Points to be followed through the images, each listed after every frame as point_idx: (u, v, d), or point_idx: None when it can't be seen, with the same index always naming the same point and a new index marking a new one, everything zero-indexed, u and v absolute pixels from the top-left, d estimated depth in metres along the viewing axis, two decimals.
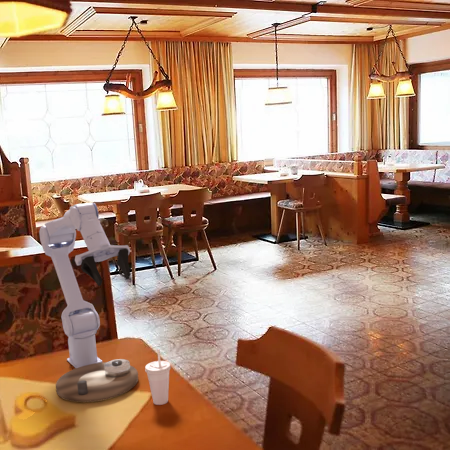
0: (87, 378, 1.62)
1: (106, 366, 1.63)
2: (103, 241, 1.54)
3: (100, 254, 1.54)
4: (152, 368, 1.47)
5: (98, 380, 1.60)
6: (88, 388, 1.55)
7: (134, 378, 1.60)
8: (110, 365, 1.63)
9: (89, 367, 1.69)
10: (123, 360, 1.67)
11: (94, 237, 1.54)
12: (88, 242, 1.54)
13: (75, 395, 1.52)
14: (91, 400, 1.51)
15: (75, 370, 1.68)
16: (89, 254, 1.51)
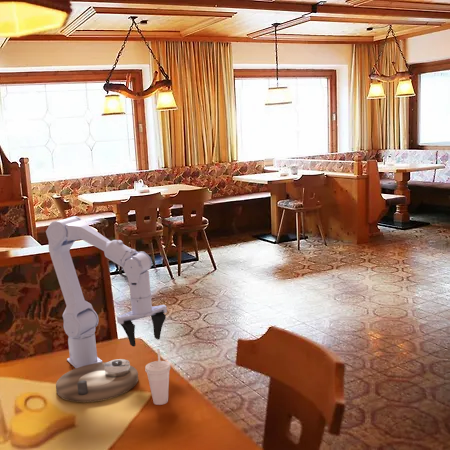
0: (87, 378, 1.62)
1: (106, 366, 1.63)
2: (147, 308, 1.64)
3: None
4: (152, 368, 1.47)
5: (98, 380, 1.60)
6: (88, 388, 1.55)
7: (134, 378, 1.60)
8: (110, 365, 1.63)
9: (89, 367, 1.69)
10: (123, 360, 1.67)
11: (140, 302, 1.63)
12: (133, 302, 1.64)
13: (75, 395, 1.52)
14: (91, 400, 1.51)
15: (75, 370, 1.68)
16: None
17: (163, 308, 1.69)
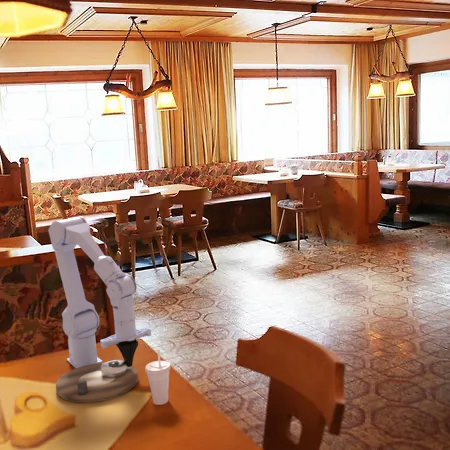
0: (87, 378, 1.62)
1: (103, 367, 1.62)
2: (131, 331, 1.62)
3: None
4: (152, 368, 1.47)
5: (98, 380, 1.60)
6: (88, 388, 1.55)
7: (134, 378, 1.60)
8: (107, 366, 1.63)
9: (89, 367, 1.69)
10: (120, 361, 1.66)
11: (124, 326, 1.61)
12: (117, 326, 1.62)
13: (75, 395, 1.52)
14: (91, 400, 1.51)
15: (75, 370, 1.68)
16: None
17: (147, 331, 1.67)
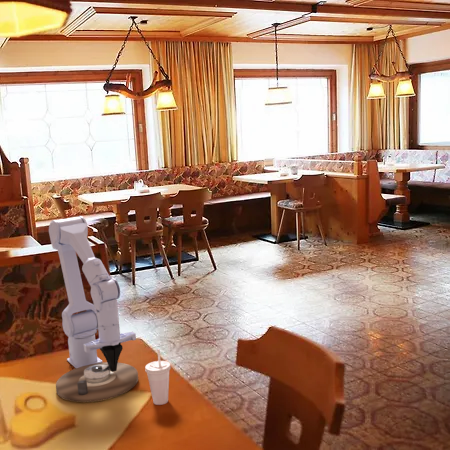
0: None
1: (86, 372, 1.60)
2: (114, 336, 1.60)
3: None
4: (152, 368, 1.47)
5: None
6: (88, 388, 1.55)
7: (134, 378, 1.60)
8: (90, 371, 1.60)
9: None
10: (103, 365, 1.64)
11: (108, 330, 1.59)
12: (101, 330, 1.59)
13: (75, 395, 1.52)
14: (91, 400, 1.51)
15: (75, 370, 1.68)
16: None
17: (132, 335, 1.65)
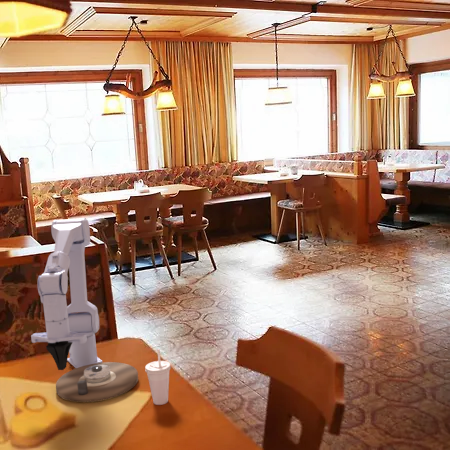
0: None
1: (86, 372, 1.60)
2: (54, 333, 1.49)
3: None
4: (152, 368, 1.47)
5: None
6: (88, 388, 1.55)
7: (134, 378, 1.60)
8: (90, 371, 1.60)
9: None
10: (103, 365, 1.64)
11: (47, 325, 1.49)
12: None
13: (75, 395, 1.52)
14: (91, 400, 1.51)
15: (75, 370, 1.68)
16: None
17: (79, 338, 1.50)
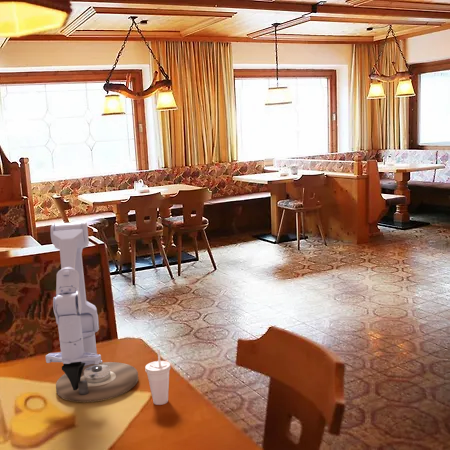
0: None
1: (86, 372, 1.60)
2: (68, 354, 1.49)
3: None
4: (152, 368, 1.47)
5: None
6: (88, 388, 1.55)
7: (134, 378, 1.60)
8: (90, 371, 1.60)
9: None
10: (103, 365, 1.64)
11: (62, 346, 1.49)
12: (60, 344, 1.51)
13: (76, 395, 1.52)
14: (92, 400, 1.51)
15: None
16: None
17: (93, 359, 1.50)
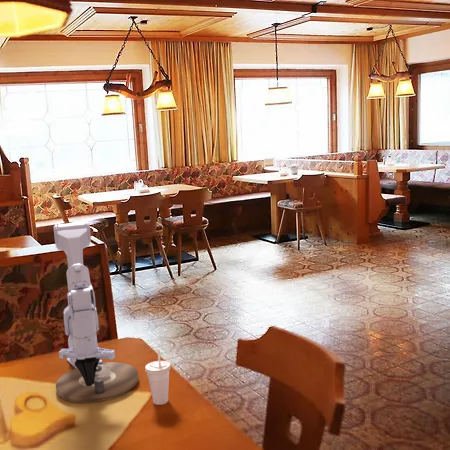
0: None
1: None
2: (82, 349, 1.48)
3: None
4: (152, 368, 1.47)
5: None
6: None
7: (135, 370, 1.65)
8: None
9: (75, 372, 1.67)
10: (99, 365, 1.64)
11: (76, 342, 1.48)
12: (74, 340, 1.50)
13: (94, 395, 1.51)
14: (112, 396, 1.52)
15: (64, 377, 1.64)
16: None
17: (107, 354, 1.49)
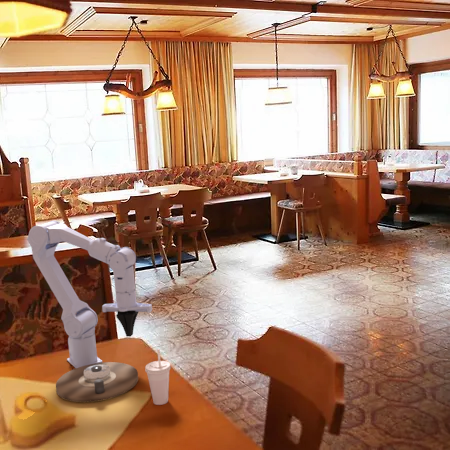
0: None
1: (88, 373, 1.59)
2: (124, 303, 1.68)
3: None
4: (152, 368, 1.47)
5: None
6: None
7: (135, 370, 1.65)
8: (91, 372, 1.60)
9: (75, 372, 1.67)
10: (99, 365, 1.64)
11: (118, 296, 1.68)
12: None
13: (94, 395, 1.51)
14: (112, 396, 1.52)
15: (64, 377, 1.64)
16: None
17: (145, 307, 1.68)
